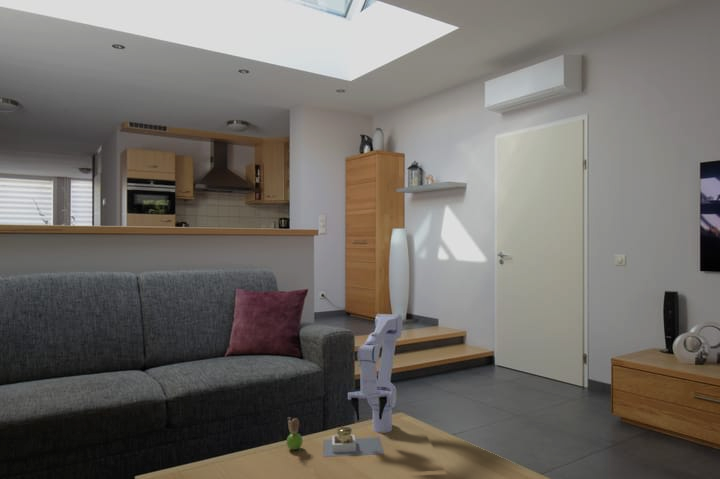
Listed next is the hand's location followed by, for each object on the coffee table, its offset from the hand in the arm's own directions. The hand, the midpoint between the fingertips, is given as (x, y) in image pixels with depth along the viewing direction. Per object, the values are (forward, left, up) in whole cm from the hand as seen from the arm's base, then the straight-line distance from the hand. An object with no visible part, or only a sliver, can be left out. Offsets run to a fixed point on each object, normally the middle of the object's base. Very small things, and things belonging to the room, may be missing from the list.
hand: (369, 419), depth 172 cm
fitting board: (+2, -6, -9) cm, 11 cm away
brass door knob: (+2, -9, -8) cm, 12 cm away
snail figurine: (0, -26, -10) cm, 28 cm away
